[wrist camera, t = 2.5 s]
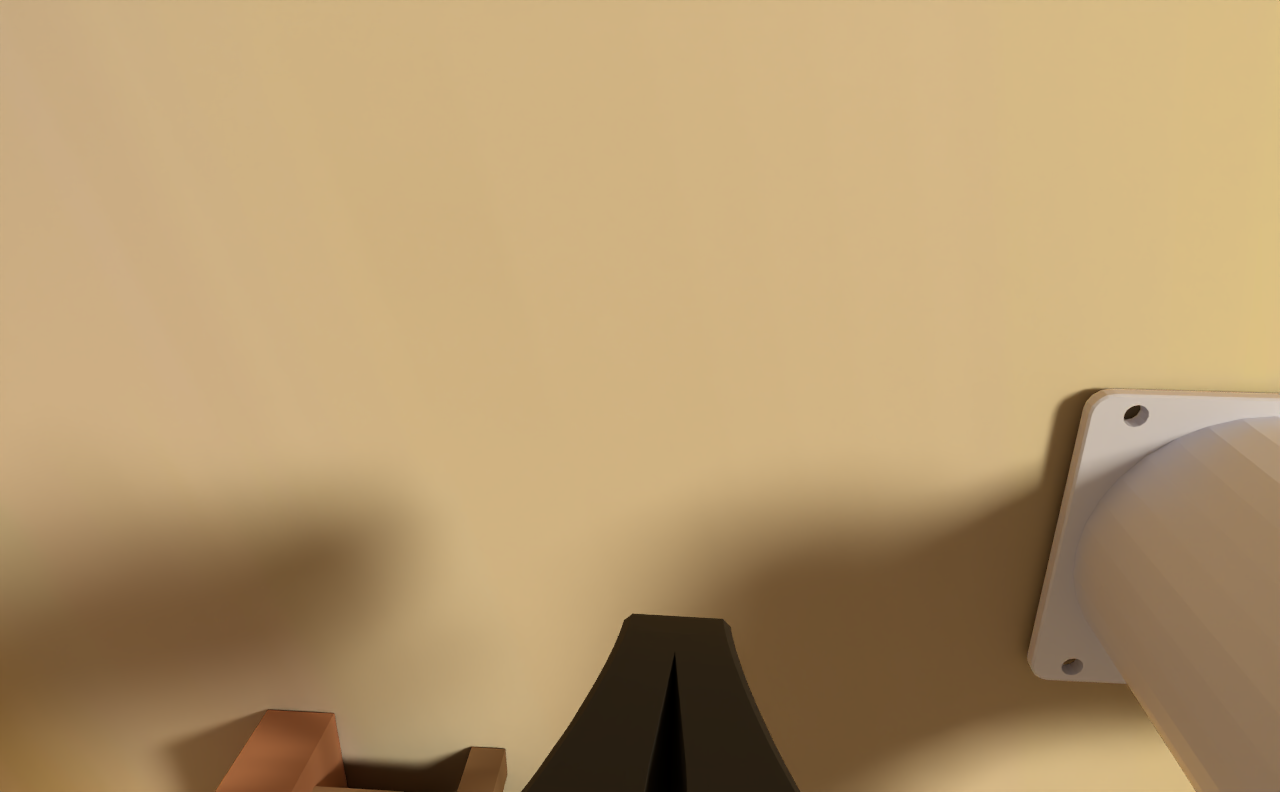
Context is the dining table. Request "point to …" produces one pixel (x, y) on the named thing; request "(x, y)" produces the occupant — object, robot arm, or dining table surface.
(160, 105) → the dining table surface
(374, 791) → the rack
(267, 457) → the dining table surface
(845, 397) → the dining table surface
